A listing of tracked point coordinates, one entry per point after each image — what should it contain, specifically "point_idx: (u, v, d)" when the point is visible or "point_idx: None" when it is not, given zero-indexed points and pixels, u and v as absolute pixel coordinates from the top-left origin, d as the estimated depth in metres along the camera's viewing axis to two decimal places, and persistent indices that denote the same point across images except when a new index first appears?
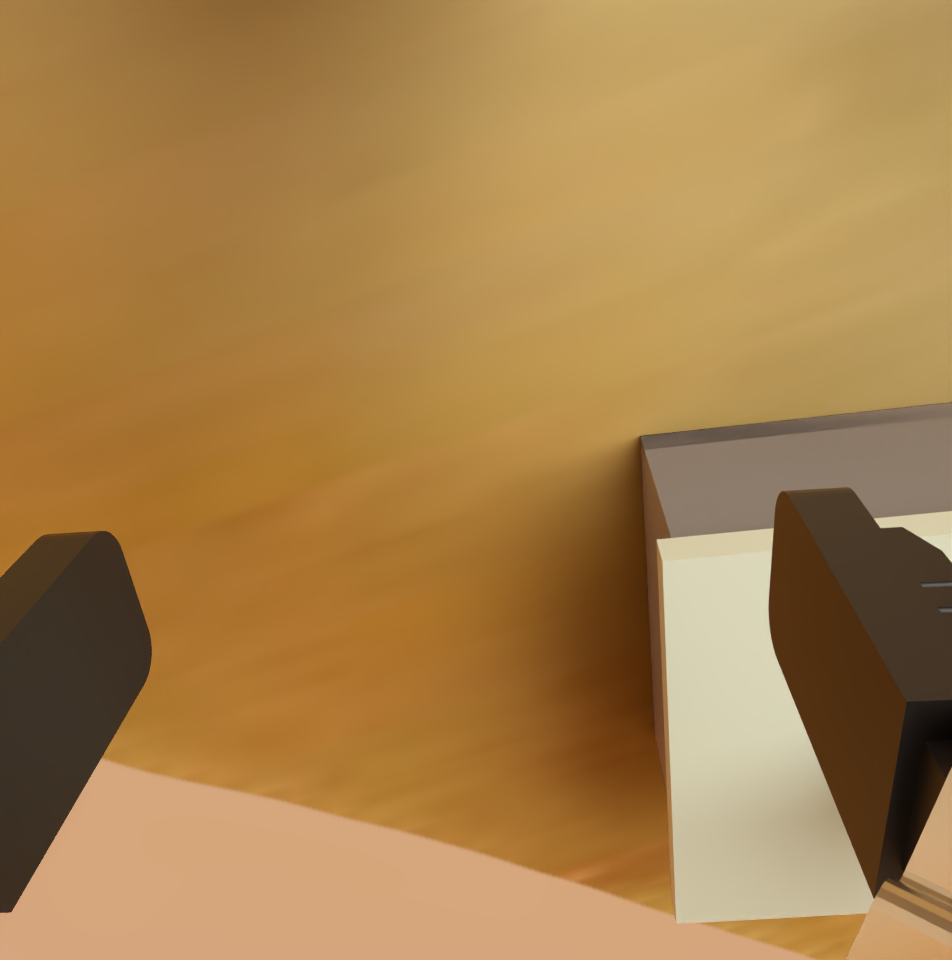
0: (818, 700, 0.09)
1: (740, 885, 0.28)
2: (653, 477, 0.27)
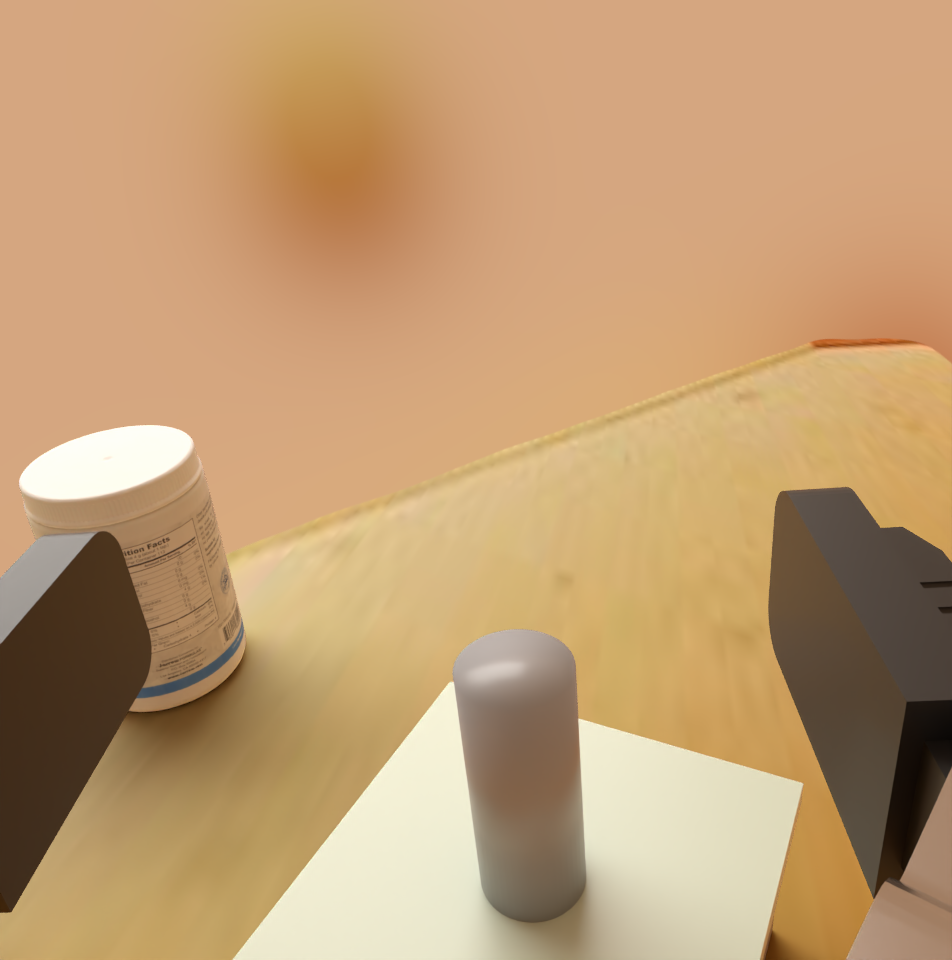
0: (818, 700, 0.09)
1: None
2: None
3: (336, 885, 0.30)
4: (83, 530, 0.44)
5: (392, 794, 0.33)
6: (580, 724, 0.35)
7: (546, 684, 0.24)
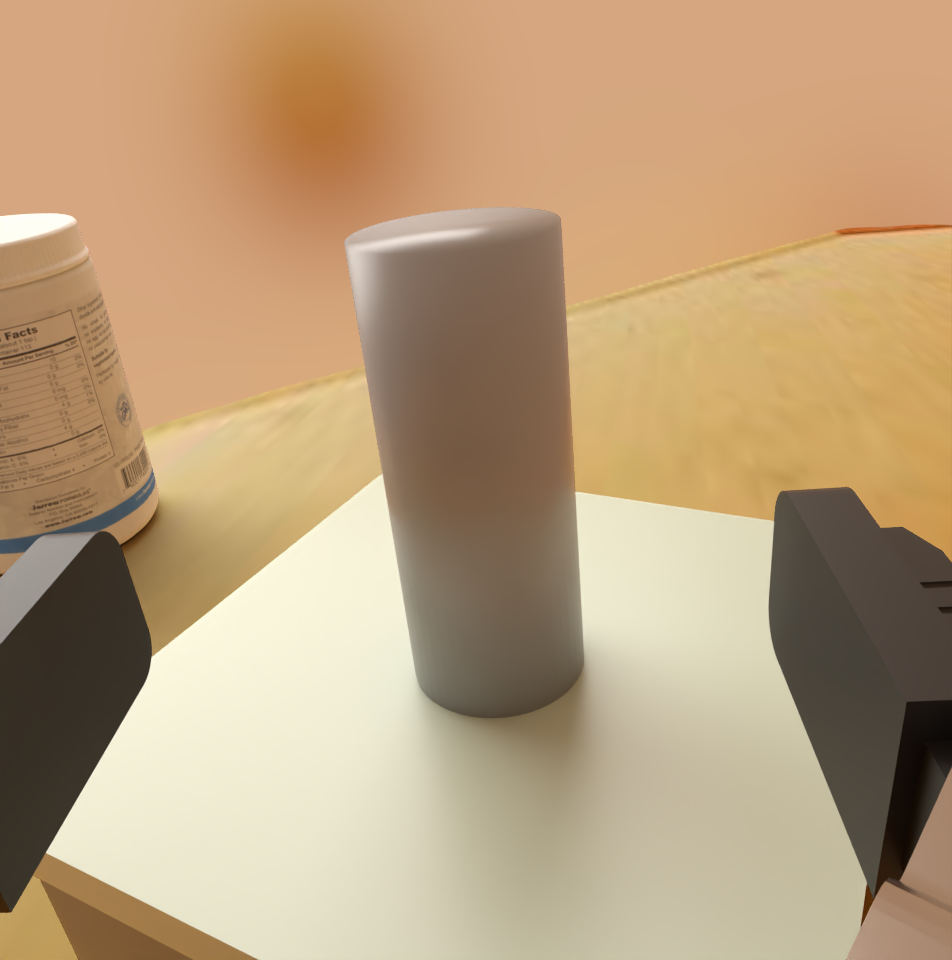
0: (818, 700, 0.09)
1: None
2: None
3: (187, 683, 0.19)
4: None
5: (292, 578, 0.22)
6: None
7: (507, 233, 0.14)
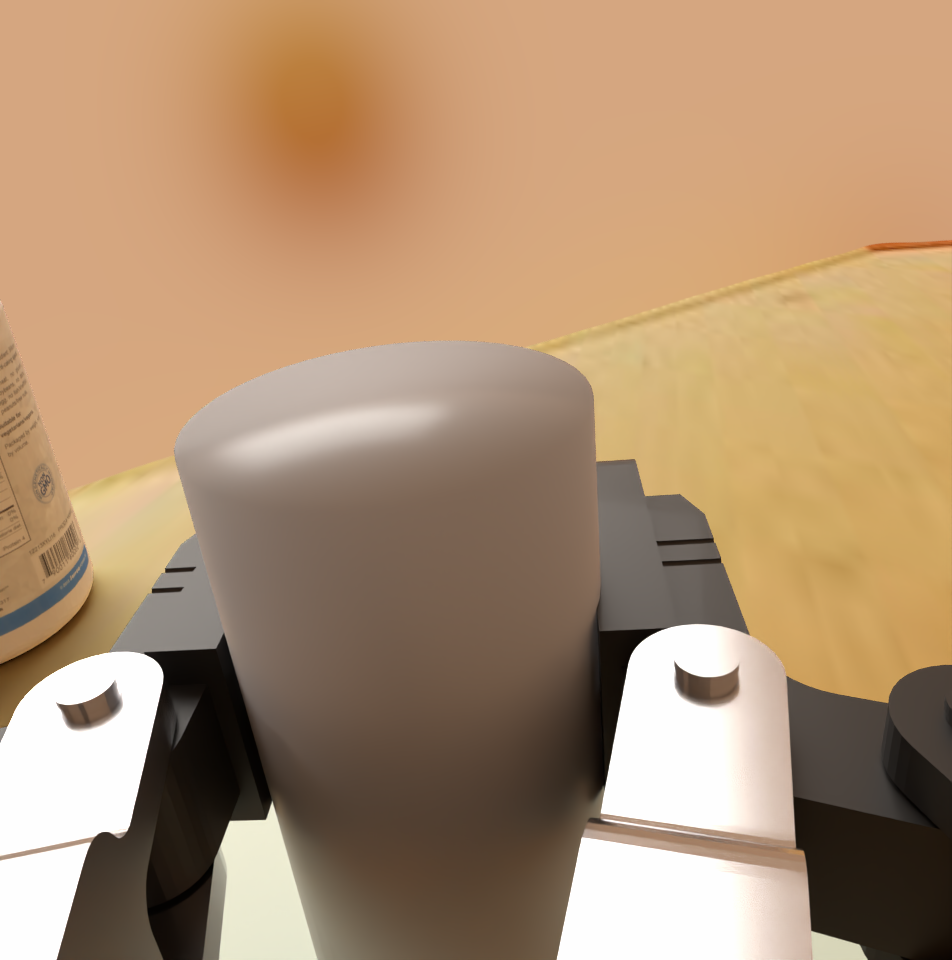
0: None
1: None
2: None
3: None
4: None
5: None
6: None
7: (488, 439, 0.07)
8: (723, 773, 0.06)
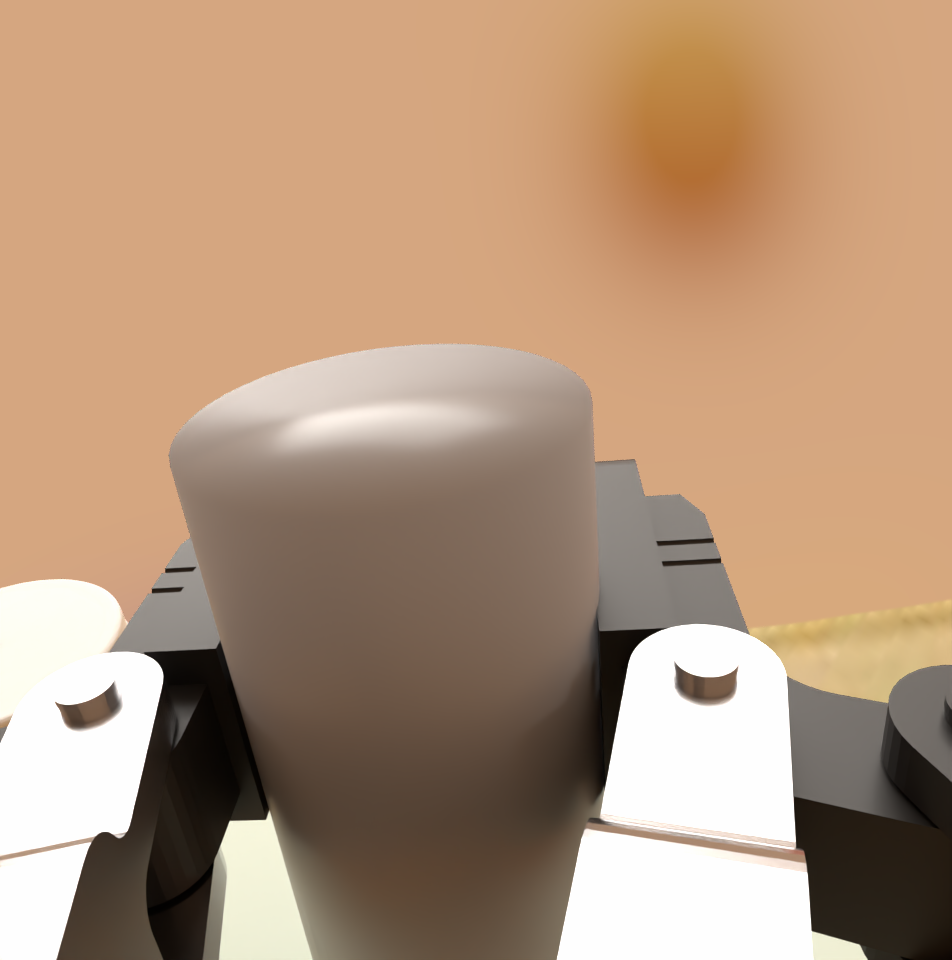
0: None
1: None
2: None
3: None
4: None
5: None
6: None
7: (485, 443, 0.07)
8: (723, 773, 0.06)
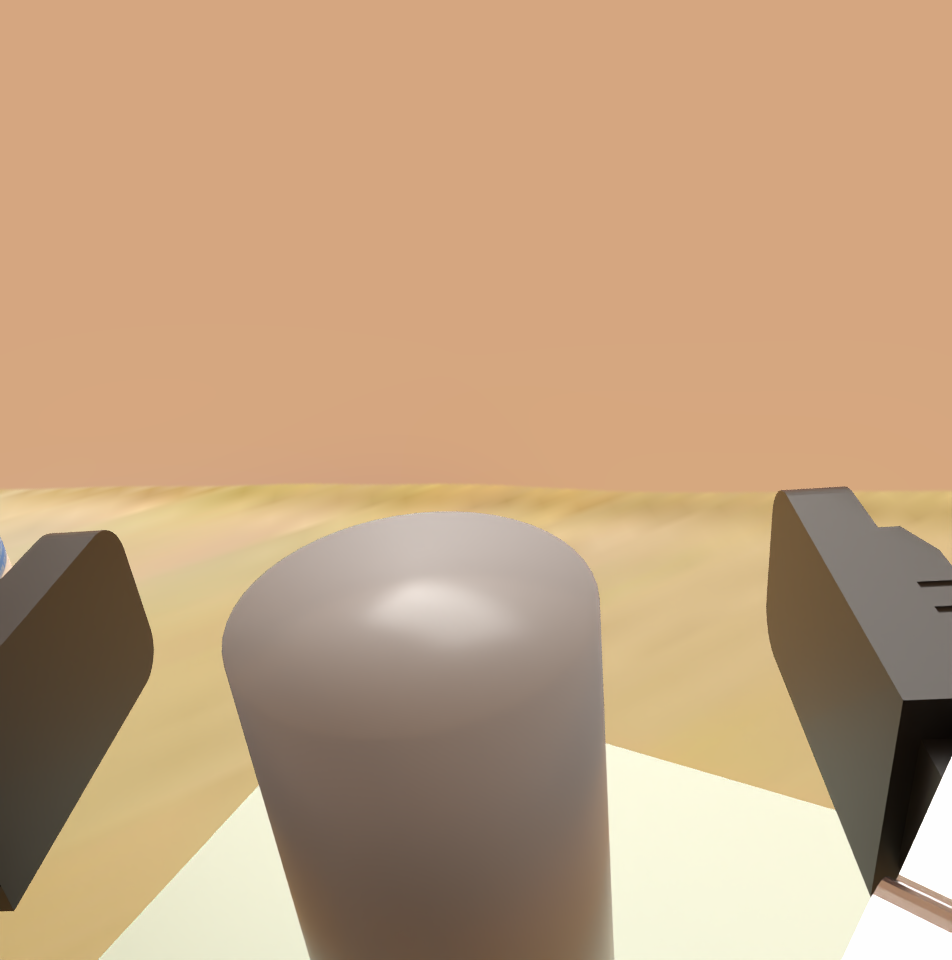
0: (815, 699, 0.09)
1: None
2: None
3: None
4: None
5: (212, 899, 0.16)
6: None
7: (505, 651, 0.08)
8: None
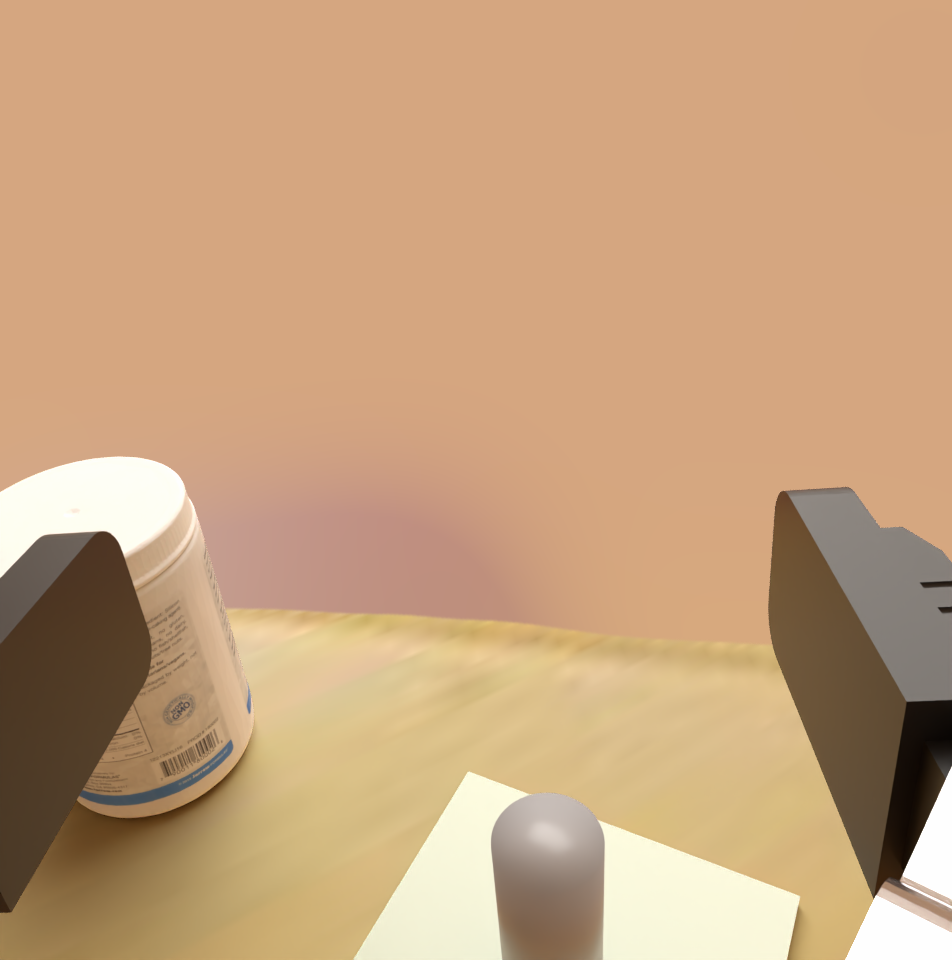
0: (818, 700, 0.09)
1: None
2: None
3: None
4: None
5: (418, 898, 0.36)
6: None
7: (578, 863, 0.27)
8: None
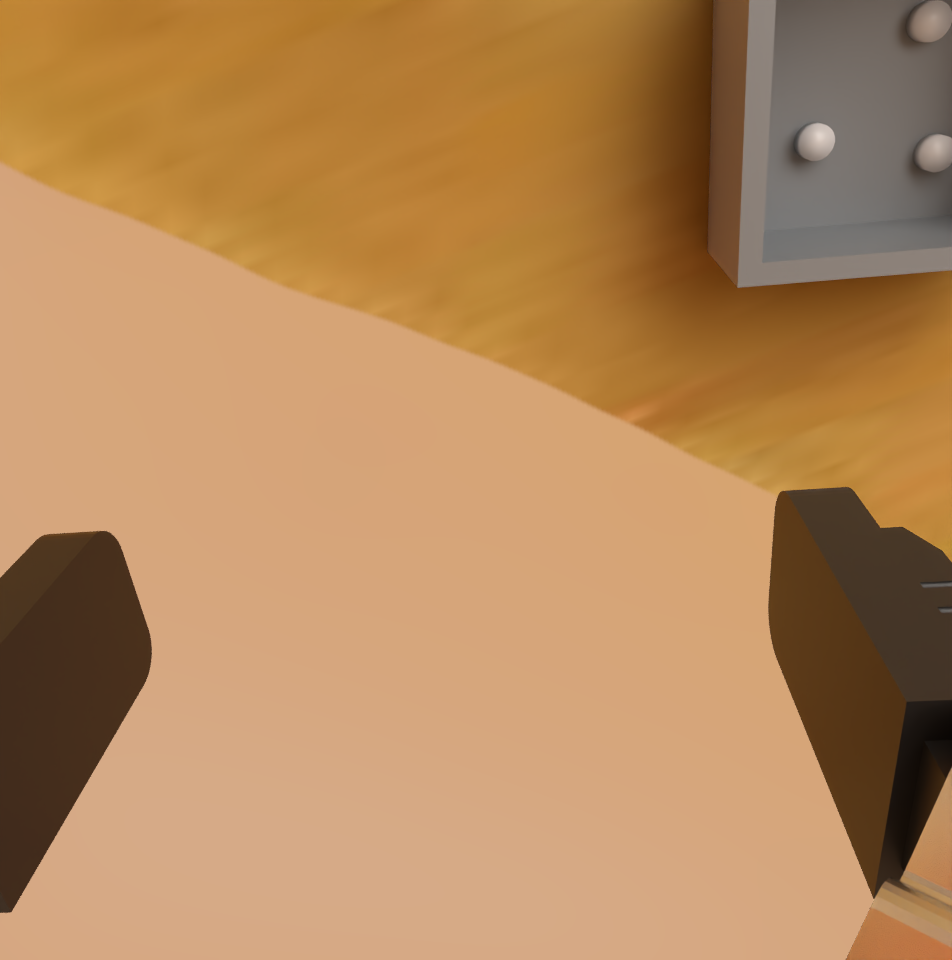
0: (818, 700, 0.09)
1: None
2: None
3: None
4: None
5: None
6: None
7: None
8: None
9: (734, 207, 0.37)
